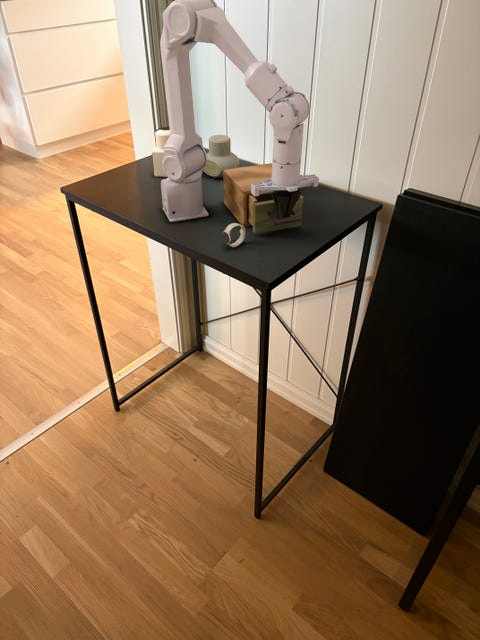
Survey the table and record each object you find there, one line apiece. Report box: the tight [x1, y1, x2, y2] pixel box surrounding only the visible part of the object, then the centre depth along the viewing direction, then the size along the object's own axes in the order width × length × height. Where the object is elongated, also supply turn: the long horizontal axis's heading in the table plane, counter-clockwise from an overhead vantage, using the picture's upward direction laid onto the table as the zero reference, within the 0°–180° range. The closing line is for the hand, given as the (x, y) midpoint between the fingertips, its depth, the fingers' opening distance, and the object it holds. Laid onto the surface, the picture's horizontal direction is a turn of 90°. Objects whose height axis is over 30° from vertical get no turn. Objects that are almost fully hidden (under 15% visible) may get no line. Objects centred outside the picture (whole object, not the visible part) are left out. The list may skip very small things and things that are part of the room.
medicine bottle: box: [151, 126, 170, 178], centre depth 135 cm, size 7×7×12 cm
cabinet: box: [222, 162, 272, 228], centre depth 117 cm, size 14×13×9 cm
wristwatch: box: [221, 222, 247, 248], centre depth 105 cm, size 3×5×5 cm, turn 129°
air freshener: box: [202, 134, 241, 179], centre depth 135 cm, size 11×8×10 cm
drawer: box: [247, 193, 304, 234], centre depth 111 cm, size 17×11×7 cm, turn 21°
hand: (283, 221), depth 107 cm, fingers closed, pressing on drawer
